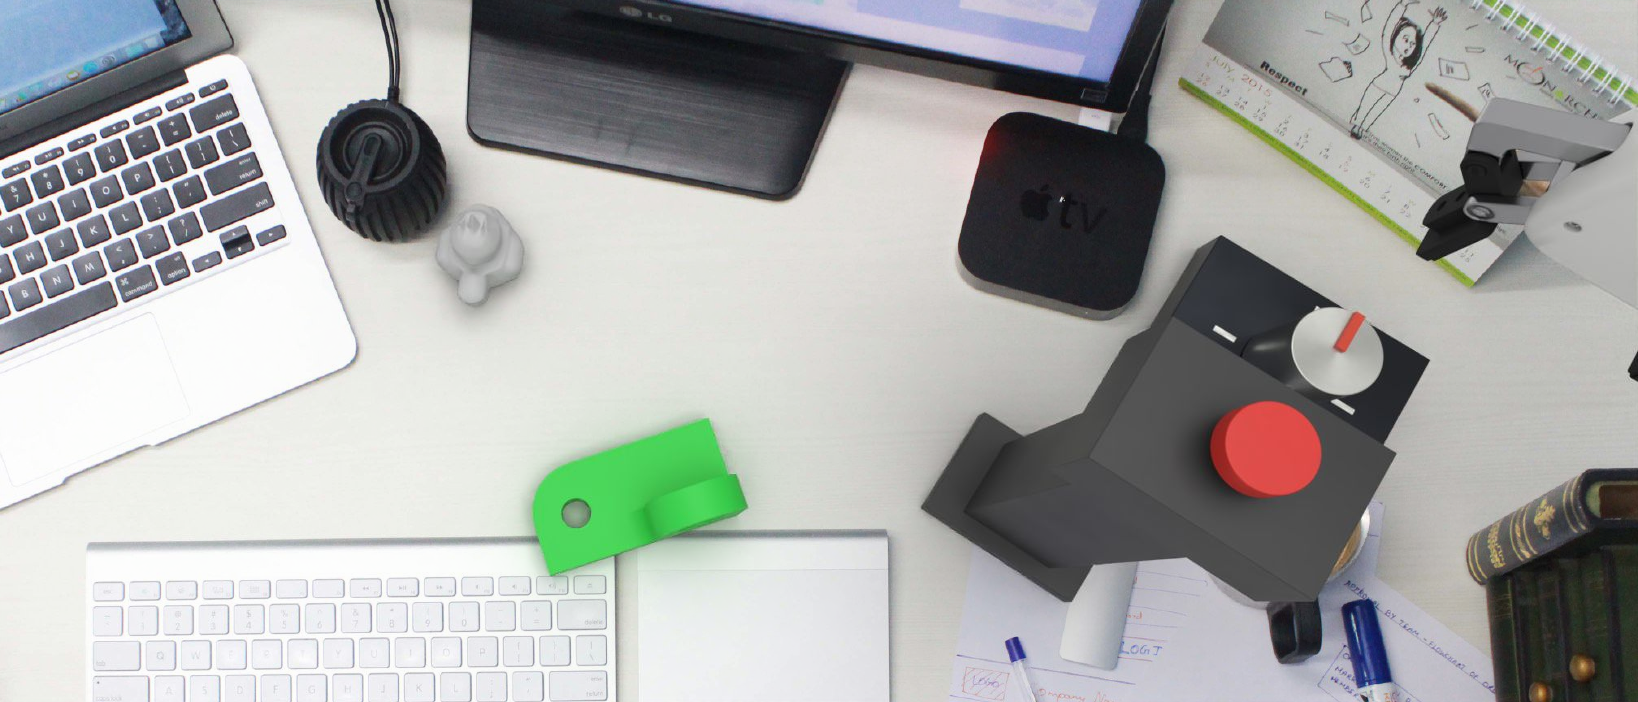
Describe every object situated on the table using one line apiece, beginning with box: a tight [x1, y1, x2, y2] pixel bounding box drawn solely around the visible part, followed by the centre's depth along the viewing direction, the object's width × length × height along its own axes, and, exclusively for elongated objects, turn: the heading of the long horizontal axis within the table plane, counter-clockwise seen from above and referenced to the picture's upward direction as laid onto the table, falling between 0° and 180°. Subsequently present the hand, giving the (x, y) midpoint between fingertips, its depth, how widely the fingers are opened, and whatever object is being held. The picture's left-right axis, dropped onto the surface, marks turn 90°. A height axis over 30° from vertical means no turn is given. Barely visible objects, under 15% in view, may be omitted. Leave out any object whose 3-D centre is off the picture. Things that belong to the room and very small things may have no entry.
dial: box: [1241, 307, 1383, 404], centre depth 68 cm, size 5×5×6 cm
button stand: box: [920, 316, 1398, 603], centre depth 60 cm, size 10×7×26 cm
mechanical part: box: [531, 417, 749, 577], centre depth 69 cm, size 12×6×8 cm, turn 108°
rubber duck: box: [435, 203, 525, 309], centre depth 73 cm, size 5×7×8 cm
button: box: [1211, 401, 1321, 498], centre depth 46 cm, size 4×4×1 cm
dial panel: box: [1149, 234, 1431, 445], centre depth 73 cm, size 14×11×3 cm
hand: (1539, 291), depth 52 cm, fingers open, 9 cm apart
